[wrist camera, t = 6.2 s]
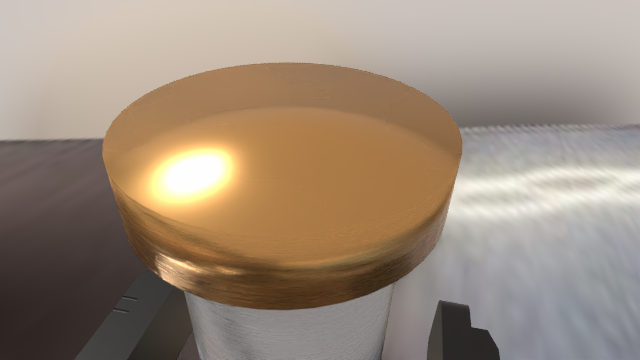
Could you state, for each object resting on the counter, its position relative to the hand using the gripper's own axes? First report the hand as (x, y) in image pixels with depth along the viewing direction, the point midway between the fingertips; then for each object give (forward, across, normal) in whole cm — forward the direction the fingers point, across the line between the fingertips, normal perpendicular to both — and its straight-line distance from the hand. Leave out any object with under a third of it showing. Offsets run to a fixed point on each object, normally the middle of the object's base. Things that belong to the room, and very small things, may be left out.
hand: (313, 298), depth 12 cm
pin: (-2, 0, -10) cm, 10 cm away
